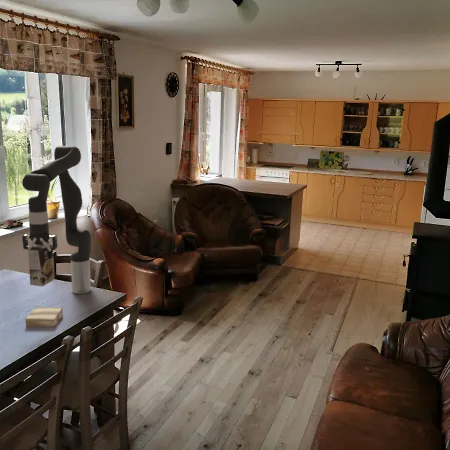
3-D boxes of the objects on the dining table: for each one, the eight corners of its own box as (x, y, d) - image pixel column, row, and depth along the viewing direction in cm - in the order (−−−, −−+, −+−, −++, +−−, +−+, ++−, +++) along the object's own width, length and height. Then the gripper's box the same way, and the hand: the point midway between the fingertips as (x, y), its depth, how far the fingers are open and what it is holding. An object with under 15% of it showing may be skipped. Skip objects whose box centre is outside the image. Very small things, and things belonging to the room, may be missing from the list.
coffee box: (43, 286, 190) (40, 250, 186) (29, 285, 192) (27, 249, 188) (55, 279, 199) (53, 244, 195) (42, 277, 200) (40, 243, 196)
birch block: (36, 315, 205) (35, 307, 204) (62, 315, 206) (62, 307, 205) (26, 327, 193) (25, 319, 192) (54, 327, 194) (53, 319, 193)
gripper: (58, 219, 193) (60, 256, 197) (24, 218, 192) (27, 255, 196) (53, 224, 185) (55, 261, 189) (17, 223, 185) (20, 261, 189)
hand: (41, 258), depth 193 cm, fingers closed on coffee box, 7 cm apart
